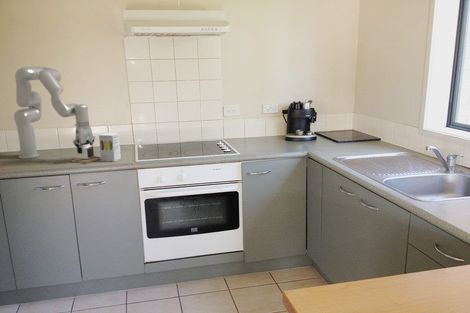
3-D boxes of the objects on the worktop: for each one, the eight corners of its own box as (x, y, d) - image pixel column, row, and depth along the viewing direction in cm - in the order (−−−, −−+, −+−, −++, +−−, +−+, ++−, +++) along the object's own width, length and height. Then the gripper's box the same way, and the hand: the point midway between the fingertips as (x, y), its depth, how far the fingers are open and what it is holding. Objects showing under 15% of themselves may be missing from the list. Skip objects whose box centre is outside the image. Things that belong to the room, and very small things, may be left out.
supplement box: (100, 161, 258) (98, 134, 254) (107, 157, 267) (105, 132, 263) (115, 161, 256) (112, 135, 252) (121, 158, 265) (119, 132, 261)
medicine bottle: (88, 158, 256) (86, 140, 253) (77, 158, 257) (75, 139, 254) (94, 156, 263) (92, 137, 260) (84, 155, 264) (82, 137, 261)
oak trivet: (72, 161, 258) (72, 159, 258) (87, 157, 268) (86, 155, 268) (86, 163, 252) (85, 161, 252) (100, 159, 263) (100, 157, 262)
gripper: (75, 127, 246) (78, 155, 250) (97, 122, 261) (100, 149, 265) (67, 126, 249) (70, 154, 253) (89, 122, 264) (91, 148, 268)
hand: (85, 151), depth 259 cm, fingers closed on medicine bottle, 8 cm apart
